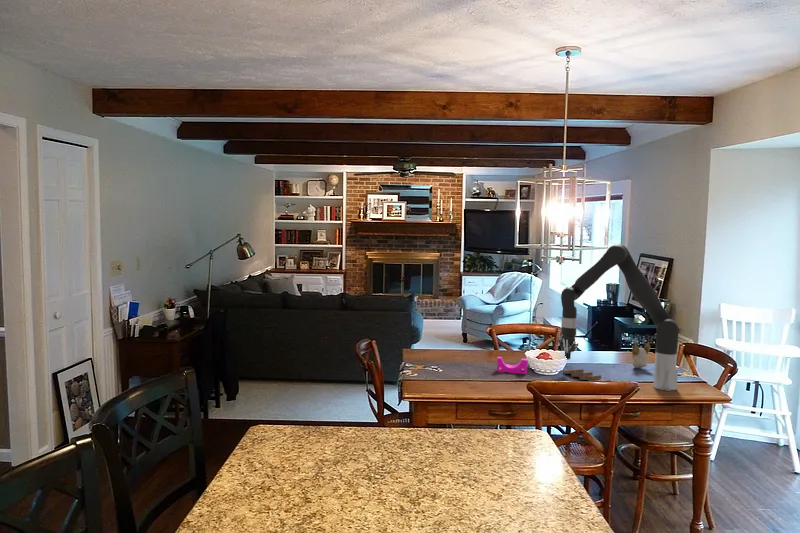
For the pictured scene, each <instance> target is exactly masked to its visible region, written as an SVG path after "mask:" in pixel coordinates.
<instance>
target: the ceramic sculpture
mask: <svg viewBox="0 0 800 533" xmlns="http://www.w3.org/2000/svg"><path fill="white" fill-rule="evenodd" d="M650 351H651V344H650V341H648V342H647V343H646V344H645V345H644V346H643V347H642V346H641V347H640V346H639V345H637V344H636V343H635V342H633V346H632V349H631V353H632V354H631V355H632V356H631V357H632V360H633V361H632V366H633V367H634V368H635V369H643V368H645V367H647V366H648V363H647V361H646V360H647V357H648V356H647V355H648V354H649V352H650Z"/></svg>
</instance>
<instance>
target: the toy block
mask: <svg viewBox="0 0 800 533" xmlns="http://www.w3.org/2000/svg"><path fill="white" fill-rule="evenodd" d="M496 359H497V360H496V363H497V364H496V372H497V371H498V372H497V373H504V372H508V374H517V373H519V375H527V371H528V370H527V369H528V358H521V360H520V361H519V362H518V363H516V364H508V363H505V361H504V360H503V357H502V356H497V358H496Z"/></svg>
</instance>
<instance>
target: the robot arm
mask: <svg viewBox="0 0 800 533" xmlns="http://www.w3.org/2000/svg"><path fill="white" fill-rule="evenodd" d="M615 266H617V267H618V268H619V270H620V271H621V272H622V274H623V276H624V279H625V281H626V285H627V287H628V289H629V290H630V292H631V294H632V296H633V297H634V299H635V300H636V301H637V303H638V304H639V305H640V306H641V307H642V309H643V310H644V311H646V312H647V314H648V315H649V317H650V318H651V320H652V322H653V324H654V326H655V328H656V335H655V336H656V337H655V352H654V353H655V354H654V355H655V356H654V370H653V371H654V373H653V387H654V388H655V389H657V390H662V391H666V392H671V391H677V387H678V369H677V359H678V358H677V356H678V355H677V354H678V343H679V326H678V324H677V322H676V321H675V320H674V319H673V317H672V316H671V315H670V314H669V313H668V311H667V310H666V309H665V308H664V306H663V305H662V302H661V300H660V298H659V296H658V295H657V293H656V291H655V290H654V288H653V286H652V285H651V284H650V282H649V280H648V279H647V278H646V276H645V275H644V274H643V272H642V271H641V270H640V268H639V267H638V266H637V264H636V262H635V260H634V259H633V257H632V255H631V253H630V251H629V249H628V247H627V246H625V245H624V244H622V243H615V244H613V245H611V246H609V248H608V249H607V250H606V251H605V253H604V254H603V255H602V256H601V258H600V259H599V260H598V261H597V262H596V263H595V264H594V265H593V266H591V267H590V268H588V269H587V270H586V271H585V272H584V273H583V274H582V275H580V276H579V277H577V279H576V280H575V283H573V284H572V285H571V286H570V287H567V288H566V287H565V288H564V289H563V290H562V291H561V294H560V301H561V307H562V312H561V314H562V317H561V330H560V335H562V336H561V338H560V339H558V343H559V345H560V348H561V350H563V351H564V357H565V356H566V358H567V359H566V360H567V361H570V360H571V355H572V353H574V352H575V351H576V350H577V348H578V346H579V343H578V342H576V336H577V327H578V326H577V324H578V320H577V315H578V314H577V313H578V312H577V311H578V310H577V307H576V306H575V301H576V300H578V299H579V298H581V296H583V294H584V293H585V292H586V291H587V290H588V289H589V288H591V287H592V285H594V284H595V283H596V282H597V281H598V280H599V279H601V277H602V276H604V274H605V273H607V271H609V270H610V269H612V268H613V267H615Z"/></svg>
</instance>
